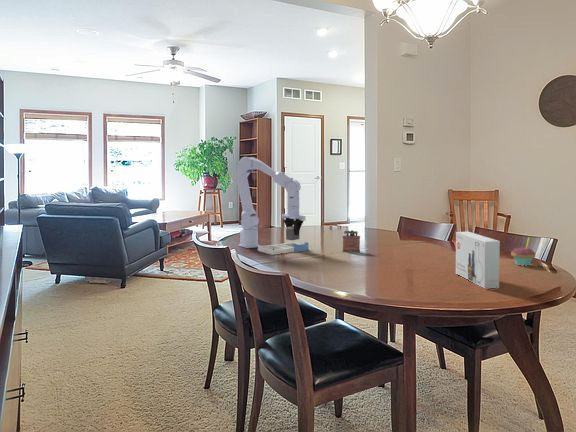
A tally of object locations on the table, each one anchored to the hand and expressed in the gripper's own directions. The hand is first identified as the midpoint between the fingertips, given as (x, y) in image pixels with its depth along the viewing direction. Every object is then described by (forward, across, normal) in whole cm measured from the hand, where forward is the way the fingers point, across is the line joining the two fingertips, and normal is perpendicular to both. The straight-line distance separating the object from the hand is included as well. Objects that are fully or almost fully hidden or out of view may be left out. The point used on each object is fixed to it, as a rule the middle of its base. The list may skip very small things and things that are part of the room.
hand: (293, 234), depth 216 cm
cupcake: (+8, +89, +42) cm, 99 cm away
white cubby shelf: (+7, 0, -6) cm, 9 cm away
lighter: (+7, +24, +15) cm, 29 cm away
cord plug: (+2, 0, 0) cm, 2 cm away
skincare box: (+8, +88, +3) cm, 88 cm away
